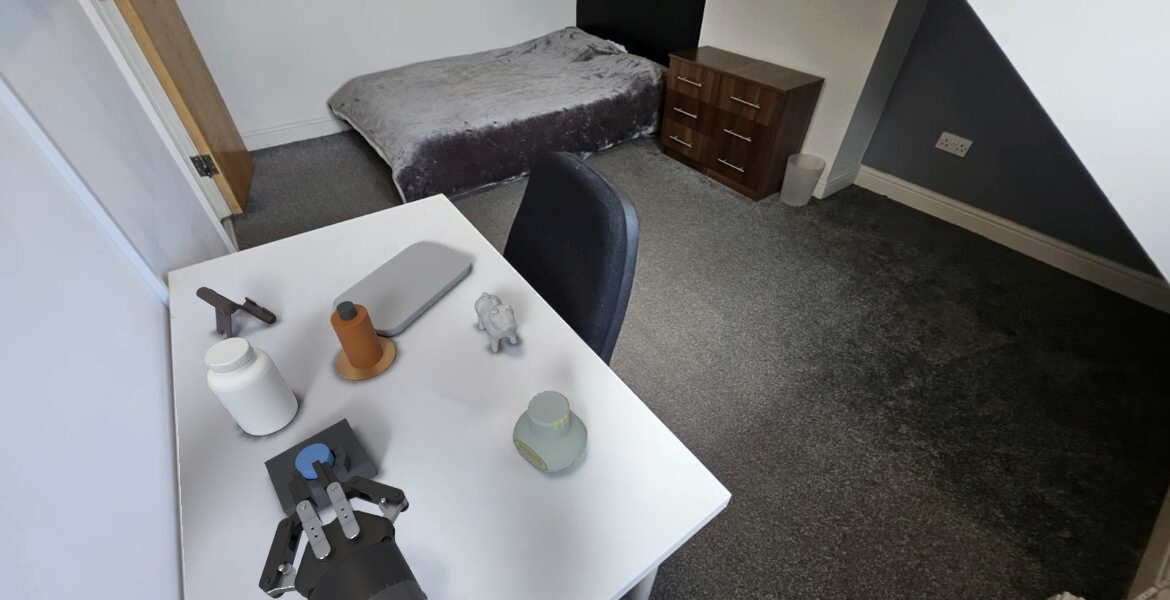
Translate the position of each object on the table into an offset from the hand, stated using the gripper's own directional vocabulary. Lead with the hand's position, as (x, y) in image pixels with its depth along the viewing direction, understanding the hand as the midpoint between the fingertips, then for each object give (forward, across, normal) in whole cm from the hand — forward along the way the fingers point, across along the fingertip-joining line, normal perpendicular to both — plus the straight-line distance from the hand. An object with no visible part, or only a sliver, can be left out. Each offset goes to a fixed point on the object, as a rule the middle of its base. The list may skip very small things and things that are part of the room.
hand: (308, 471), depth 48 cm
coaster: (+30, -13, +18) cm, 37 cm away
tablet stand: (+53, +1, +18) cm, 56 cm away
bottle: (+30, -13, +18) cm, 37 cm away
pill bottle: (+28, +3, +18) cm, 34 cm away
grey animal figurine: (+19, -34, +18) cm, 43 cm away
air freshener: (-5, -27, +18) cm, 33 cm away
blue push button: (+10, 0, +12) cm, 16 cm away
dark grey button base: (+12, 0, +18) cm, 22 cm away
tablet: (+43, -27, +18) cm, 54 cm away
